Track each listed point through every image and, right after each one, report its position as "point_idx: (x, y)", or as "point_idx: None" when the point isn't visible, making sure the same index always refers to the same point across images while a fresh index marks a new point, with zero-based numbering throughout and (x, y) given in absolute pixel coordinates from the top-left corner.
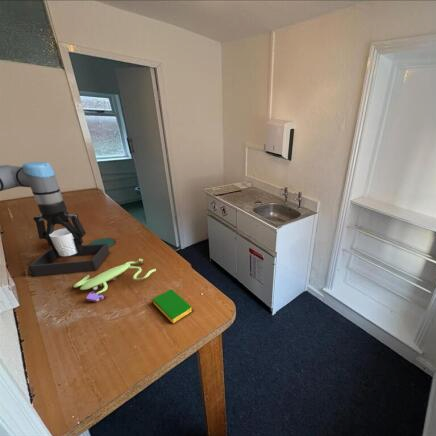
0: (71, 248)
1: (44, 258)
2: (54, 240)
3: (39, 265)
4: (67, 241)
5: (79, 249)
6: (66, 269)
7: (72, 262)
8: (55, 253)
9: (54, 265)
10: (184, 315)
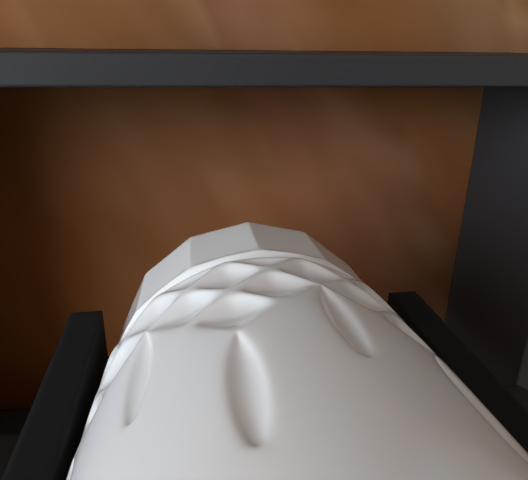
0: (134, 324)
1: (509, 285)
2: (454, 440)
3: (498, 56)
4: (119, 446)
5: (62, 346)
6: (186, 50)
7: (64, 58)
8: (403, 293)
9: (318, 54)
10: None
